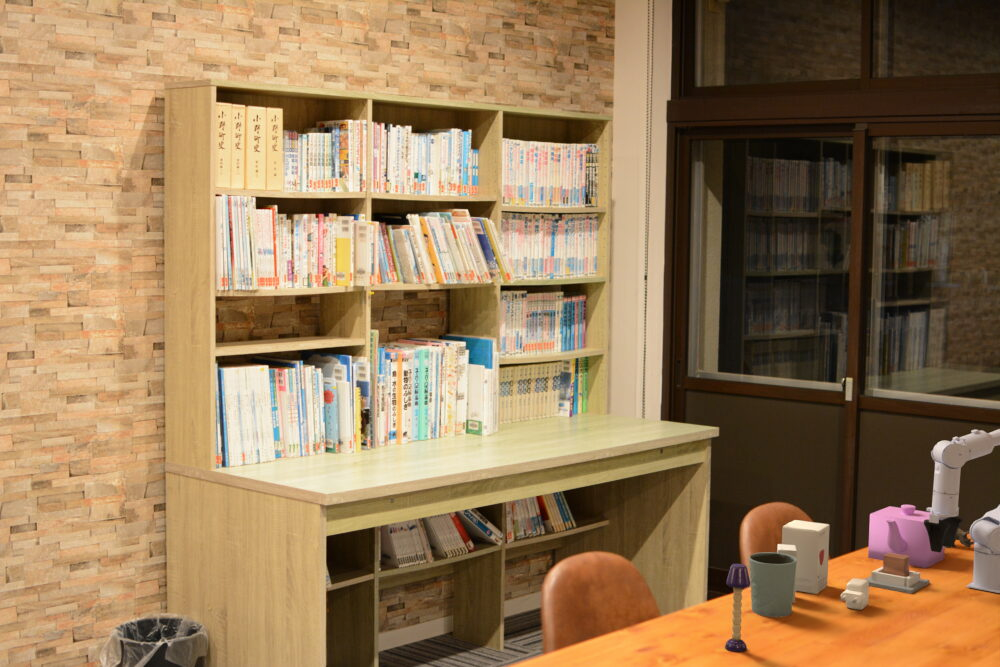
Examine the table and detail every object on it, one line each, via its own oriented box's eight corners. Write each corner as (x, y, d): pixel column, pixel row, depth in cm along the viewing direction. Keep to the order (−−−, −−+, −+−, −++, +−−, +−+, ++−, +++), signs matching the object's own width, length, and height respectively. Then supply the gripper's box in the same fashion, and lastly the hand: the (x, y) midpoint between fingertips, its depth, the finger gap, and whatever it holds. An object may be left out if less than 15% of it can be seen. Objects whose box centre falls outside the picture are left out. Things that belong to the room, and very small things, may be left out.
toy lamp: (721, 644, 236) (724, 562, 235) (744, 643, 236) (746, 561, 235) (728, 652, 231) (730, 568, 230) (751, 651, 232) (754, 568, 230)
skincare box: (795, 603, 265) (797, 551, 264) (775, 602, 266) (777, 549, 265) (794, 596, 271) (795, 544, 270) (775, 594, 272) (776, 543, 271)
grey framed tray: (880, 574, 291) (881, 562, 291) (929, 583, 283) (929, 571, 283) (861, 584, 282) (861, 572, 281) (911, 593, 274) (911, 581, 274)
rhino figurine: (972, 553, 314) (973, 531, 313) (922, 544, 323) (923, 522, 323) (978, 550, 317) (979, 528, 316) (928, 541, 326) (929, 520, 326)
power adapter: (858, 618, 255) (859, 591, 254) (835, 614, 257) (836, 587, 257) (871, 605, 264) (872, 579, 264) (849, 601, 267) (850, 576, 267)
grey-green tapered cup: (798, 608, 261) (800, 555, 260) (789, 621, 252) (791, 566, 251) (753, 602, 265) (754, 549, 264) (742, 614, 256) (744, 560, 255)
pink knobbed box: (856, 563, 301) (858, 509, 300) (894, 545, 321) (896, 494, 320) (915, 574, 292) (918, 518, 291) (950, 555, 311) (953, 503, 310)
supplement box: (817, 595, 272) (819, 531, 271) (779, 588, 277) (781, 525, 276) (828, 586, 279) (830, 523, 278) (791, 580, 284) (793, 518, 283)
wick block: (888, 577, 285) (889, 552, 285) (908, 581, 282) (909, 556, 282) (882, 580, 282) (883, 555, 282) (903, 583, 279) (904, 559, 279)
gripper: (939, 485, 286) (935, 541, 287) (917, 493, 275) (913, 550, 275) (969, 490, 281) (964, 546, 282) (948, 498, 270) (944, 556, 271)
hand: (941, 549), depth 278 cm, fingers open, 7 cm apart
